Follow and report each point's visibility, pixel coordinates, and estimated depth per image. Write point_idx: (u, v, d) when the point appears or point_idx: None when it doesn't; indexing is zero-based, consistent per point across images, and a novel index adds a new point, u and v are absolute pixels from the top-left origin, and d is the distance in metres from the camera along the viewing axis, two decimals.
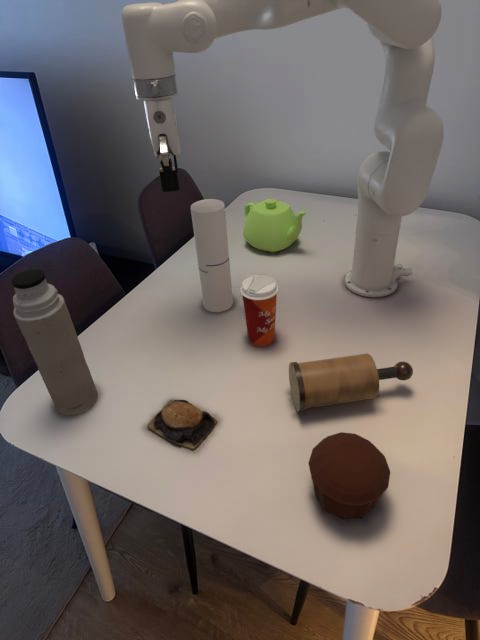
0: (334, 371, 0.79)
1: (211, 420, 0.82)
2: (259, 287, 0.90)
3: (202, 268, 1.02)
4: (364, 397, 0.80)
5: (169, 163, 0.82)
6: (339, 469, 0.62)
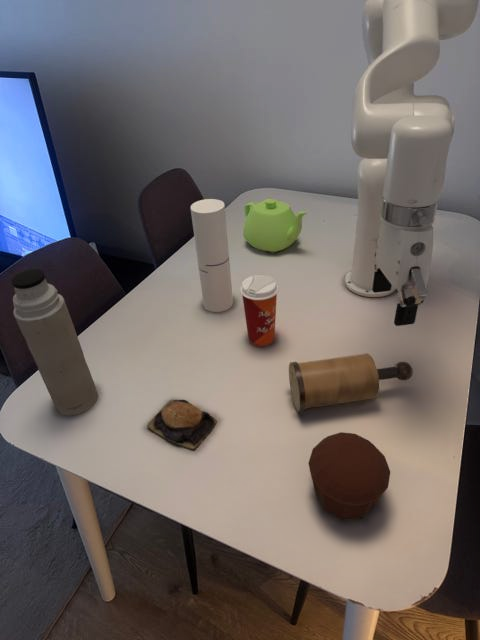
0: (334, 371, 0.79)
1: (211, 420, 0.82)
2: (259, 287, 0.90)
3: (202, 268, 1.02)
4: (364, 397, 0.80)
5: (421, 301, 0.67)
6: (339, 469, 0.62)
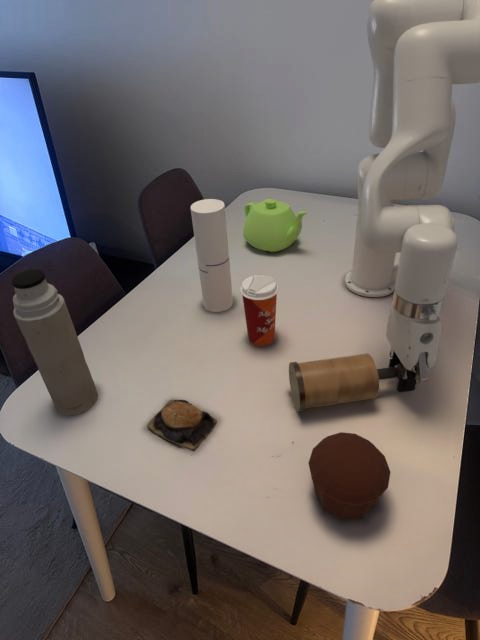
0: (334, 371, 0.79)
1: (211, 420, 0.82)
2: (259, 287, 0.90)
3: (202, 268, 1.02)
4: (364, 397, 0.80)
5: None
6: (339, 469, 0.62)
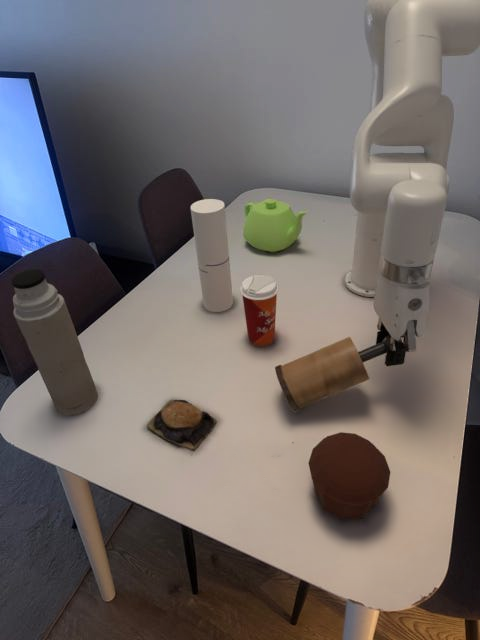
0: (315, 366, 0.77)
1: (211, 420, 0.82)
2: (259, 287, 0.90)
3: (202, 268, 1.02)
4: (355, 382, 0.77)
5: None
6: (339, 469, 0.62)
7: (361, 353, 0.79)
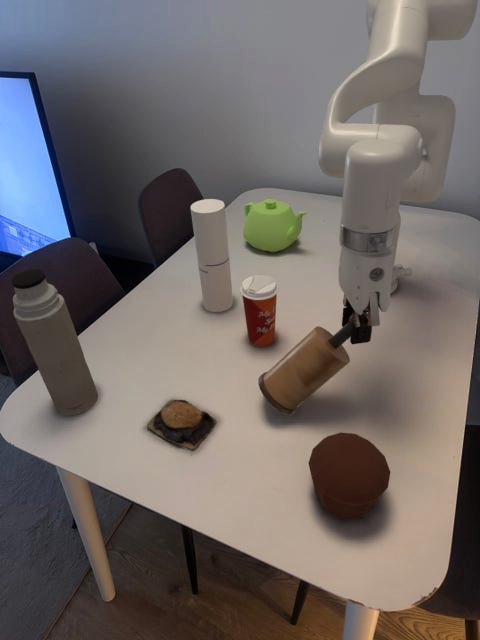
0: (288, 368, 0.77)
1: (211, 420, 0.82)
2: (259, 287, 0.90)
3: (202, 268, 1.02)
4: (333, 371, 0.75)
5: None
6: (339, 469, 0.62)
7: (332, 340, 0.76)
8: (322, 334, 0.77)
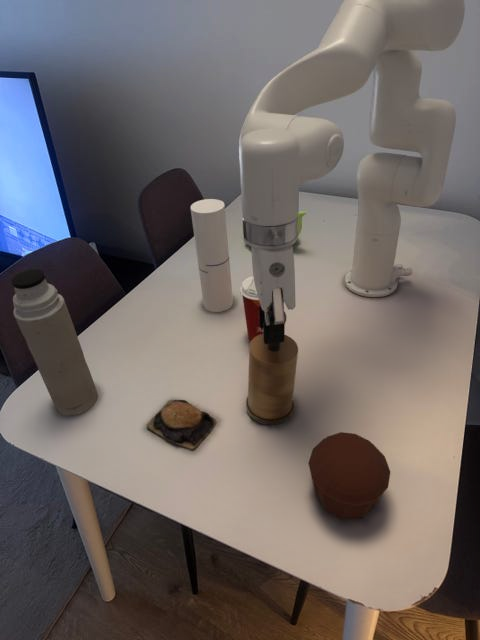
0: (251, 387, 0.78)
1: (210, 420, 0.81)
2: None
3: (202, 268, 1.02)
4: (283, 373, 0.74)
5: None
6: (339, 469, 0.62)
7: (268, 346, 0.75)
8: (259, 344, 0.76)
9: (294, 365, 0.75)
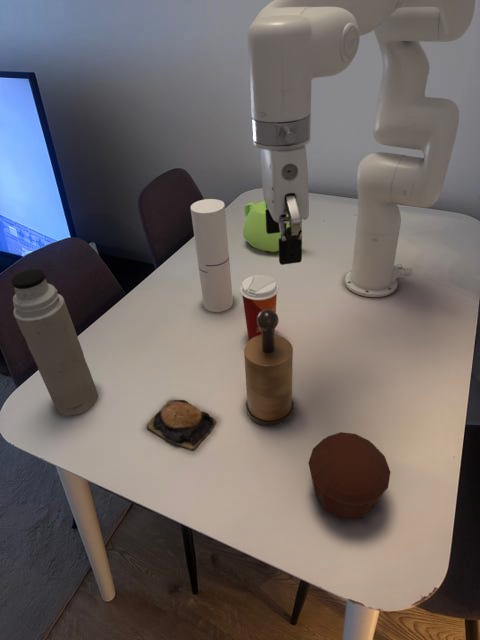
0: (248, 390, 0.78)
1: (210, 420, 0.81)
2: (259, 287, 0.90)
3: (202, 268, 1.02)
4: (279, 375, 0.74)
5: (299, 232, 0.61)
6: (339, 469, 0.62)
7: (262, 348, 0.75)
8: (254, 346, 0.76)
9: (289, 366, 0.75)
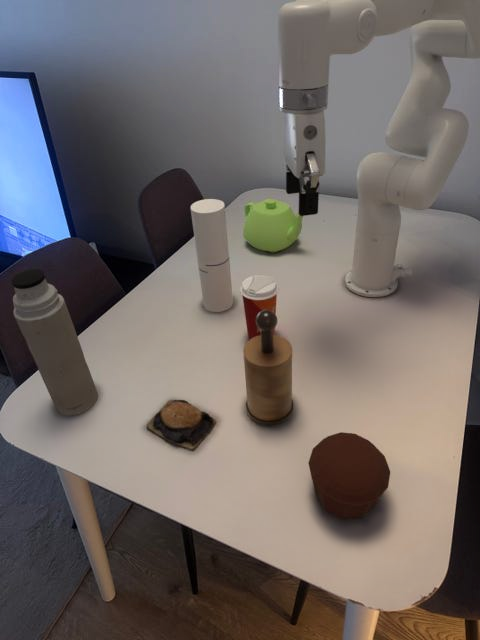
0: (248, 390, 0.79)
1: (210, 420, 0.81)
2: (259, 287, 0.90)
3: (202, 268, 1.02)
4: (278, 375, 0.74)
5: (317, 185, 0.72)
6: (339, 469, 0.62)
7: (262, 348, 0.75)
8: (253, 347, 0.76)
9: (289, 366, 0.75)
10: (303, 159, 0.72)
